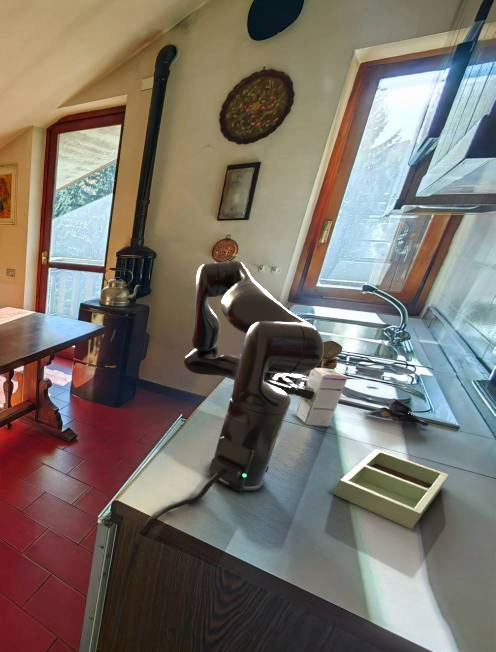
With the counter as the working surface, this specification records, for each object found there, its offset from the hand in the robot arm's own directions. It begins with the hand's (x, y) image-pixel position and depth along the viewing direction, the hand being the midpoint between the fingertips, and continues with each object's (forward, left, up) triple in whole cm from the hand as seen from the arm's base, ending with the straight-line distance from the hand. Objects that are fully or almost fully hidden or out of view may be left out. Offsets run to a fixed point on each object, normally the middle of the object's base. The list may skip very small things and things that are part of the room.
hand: (319, 392), depth 103 cm
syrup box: (0, 0, -9) cm, 9 cm away
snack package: (+21, -12, -9) cm, 26 cm away
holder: (-23, -21, -8) cm, 33 cm away
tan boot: (+27, +9, -9) cm, 30 cm away
